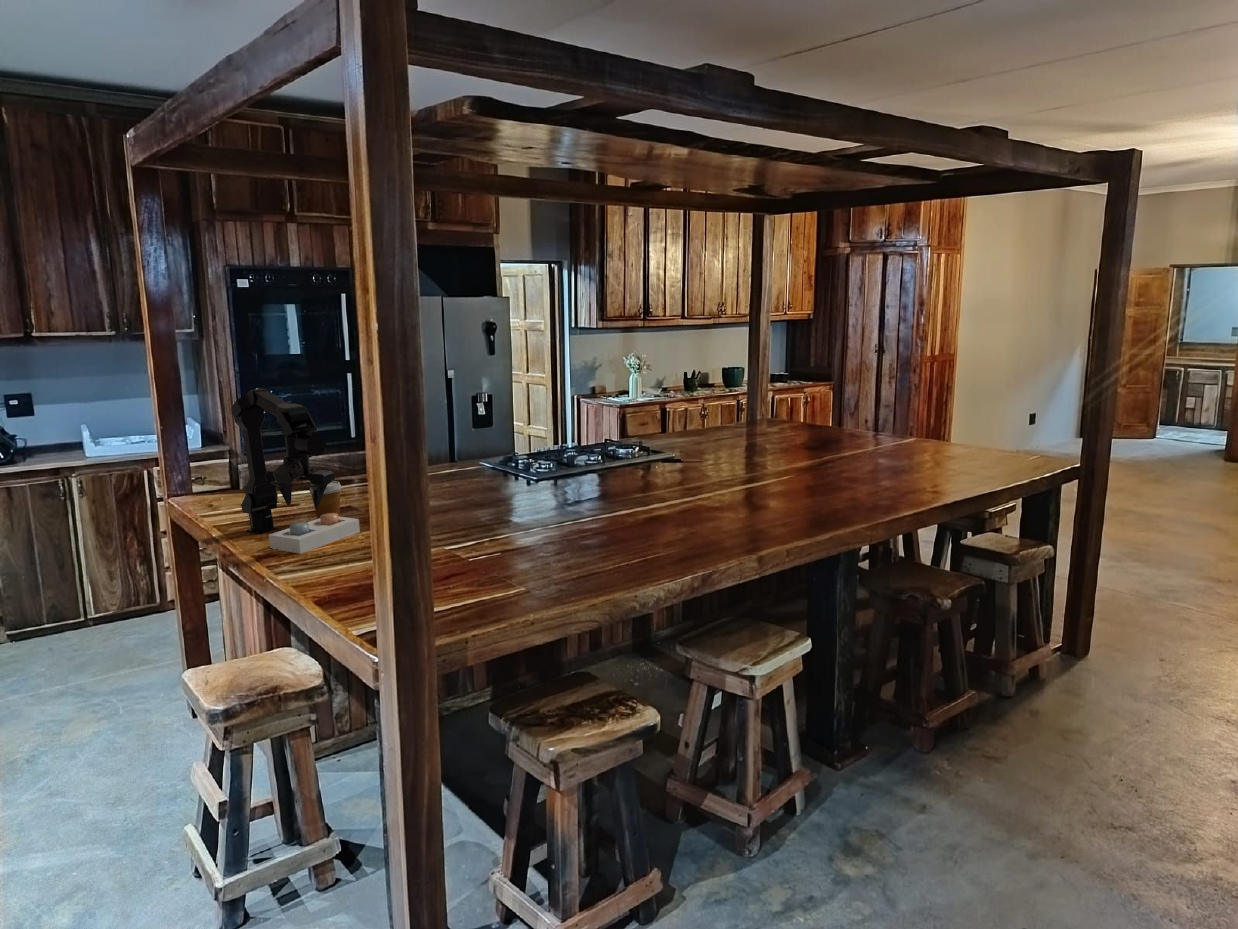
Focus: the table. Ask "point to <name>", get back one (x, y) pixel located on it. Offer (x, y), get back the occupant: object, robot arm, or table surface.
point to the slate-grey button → (299, 529)
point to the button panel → (314, 535)
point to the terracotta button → (329, 519)
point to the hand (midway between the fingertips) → (302, 506)
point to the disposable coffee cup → (329, 499)
